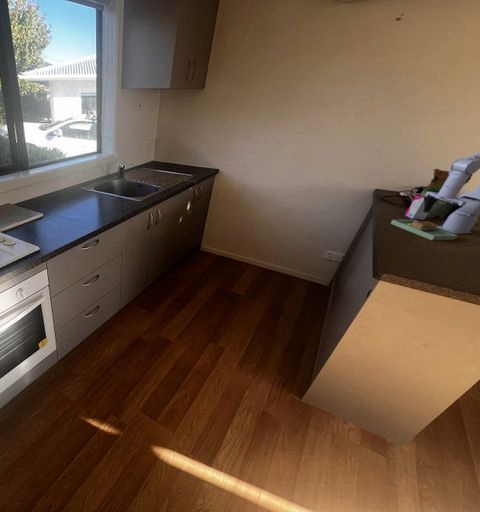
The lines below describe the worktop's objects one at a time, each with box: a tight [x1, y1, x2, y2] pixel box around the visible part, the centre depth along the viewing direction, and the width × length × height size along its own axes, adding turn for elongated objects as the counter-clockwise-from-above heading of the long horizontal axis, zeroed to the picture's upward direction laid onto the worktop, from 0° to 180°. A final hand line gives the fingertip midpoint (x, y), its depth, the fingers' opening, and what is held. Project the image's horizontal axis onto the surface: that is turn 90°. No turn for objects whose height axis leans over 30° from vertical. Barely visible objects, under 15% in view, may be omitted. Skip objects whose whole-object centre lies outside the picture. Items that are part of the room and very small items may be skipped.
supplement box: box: [404, 195, 429, 221], centre depth 153 cm, size 6×6×12 cm
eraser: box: [411, 220, 438, 232], centre depth 139 cm, size 8×4×4 cm, turn 95°
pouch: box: [419, 168, 474, 219], centre depth 153 cm, size 11×12×25 cm
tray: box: [390, 219, 459, 241], centre depth 140 cm, size 12×19×2 cm, turn 6°
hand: (434, 215), depth 136 cm, fingers open, 7 cm apart
